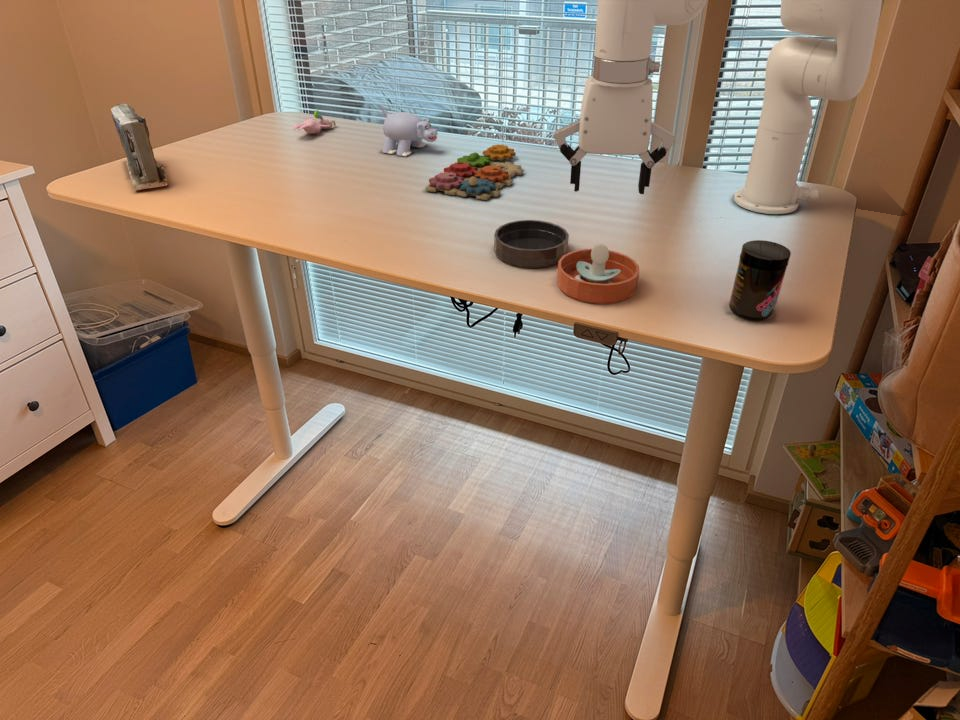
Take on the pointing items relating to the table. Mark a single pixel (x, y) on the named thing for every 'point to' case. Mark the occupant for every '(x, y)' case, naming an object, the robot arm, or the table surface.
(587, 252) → the terracotta bowl
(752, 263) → the supplement container
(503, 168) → the gear puzzle
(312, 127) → the rabbit figure
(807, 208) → the table surface
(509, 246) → the charcoal bowl
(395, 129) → the hippopotamus toy
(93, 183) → the table surface
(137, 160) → the radio
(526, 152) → the table surface
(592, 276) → the pacifier
